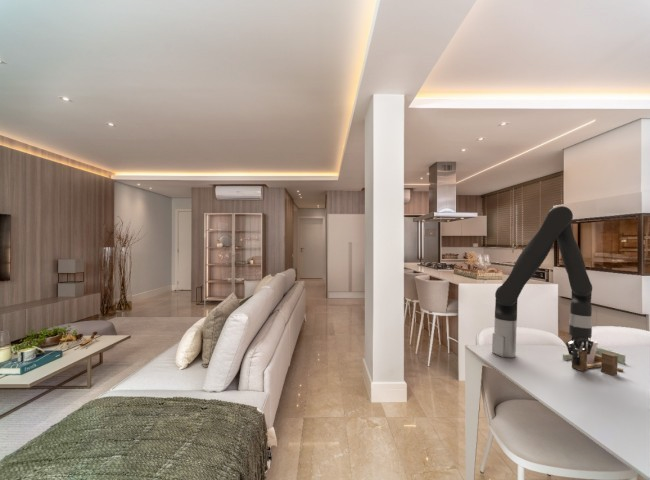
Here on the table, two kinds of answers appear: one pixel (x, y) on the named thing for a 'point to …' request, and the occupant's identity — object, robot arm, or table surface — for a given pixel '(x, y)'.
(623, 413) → the table surface
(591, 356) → the smoothie
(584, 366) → the wooden mallet
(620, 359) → the frame
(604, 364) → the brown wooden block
